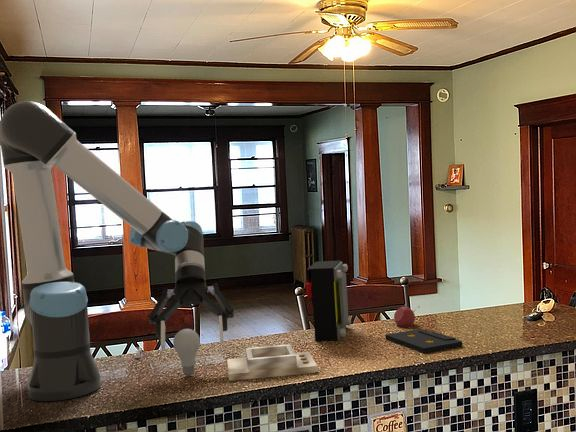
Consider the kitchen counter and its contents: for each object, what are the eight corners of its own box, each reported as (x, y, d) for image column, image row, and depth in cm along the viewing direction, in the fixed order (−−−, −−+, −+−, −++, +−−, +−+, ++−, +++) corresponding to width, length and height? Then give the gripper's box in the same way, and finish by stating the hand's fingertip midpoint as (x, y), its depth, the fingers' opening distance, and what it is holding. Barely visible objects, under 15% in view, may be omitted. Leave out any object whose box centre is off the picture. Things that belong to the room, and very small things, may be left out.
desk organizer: (228, 380, 134) (227, 363, 133) (227, 365, 146) (226, 348, 146) (317, 372, 136) (316, 354, 136) (309, 357, 149) (308, 341, 149)
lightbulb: (206, 372, 141) (203, 326, 141) (195, 380, 135) (192, 332, 135) (182, 372, 143) (179, 326, 142) (170, 380, 137) (167, 331, 136)
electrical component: (345, 341, 164) (341, 267, 163) (308, 341, 166) (304, 269, 165) (351, 326, 181) (347, 260, 180) (318, 327, 183) (314, 261, 182)
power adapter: (144, 359, 159) (143, 347, 159) (134, 361, 158) (133, 349, 157) (141, 357, 161) (140, 345, 161) (131, 358, 160) (131, 346, 160)
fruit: (415, 333, 176) (425, 308, 178) (400, 325, 174) (411, 300, 176) (404, 329, 182) (414, 305, 183) (389, 322, 180) (399, 297, 181)
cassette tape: (463, 348, 151) (462, 340, 151) (424, 355, 146) (423, 347, 146) (421, 335, 167) (420, 327, 167) (385, 341, 163) (384, 333, 163)
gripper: (239, 277, 159) (246, 348, 145) (142, 285, 156) (140, 358, 141) (238, 259, 154) (246, 331, 139) (138, 267, 150) (135, 341, 136)
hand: (192, 345), depth 140 cm, fingers open, 13 cm apart
